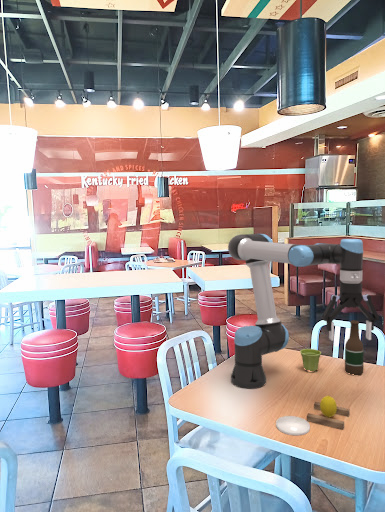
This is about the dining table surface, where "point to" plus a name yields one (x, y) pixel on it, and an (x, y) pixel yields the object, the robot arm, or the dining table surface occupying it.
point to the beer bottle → (354, 351)
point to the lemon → (328, 406)
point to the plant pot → (310, 359)
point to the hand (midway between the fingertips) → (349, 339)
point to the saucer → (292, 425)
